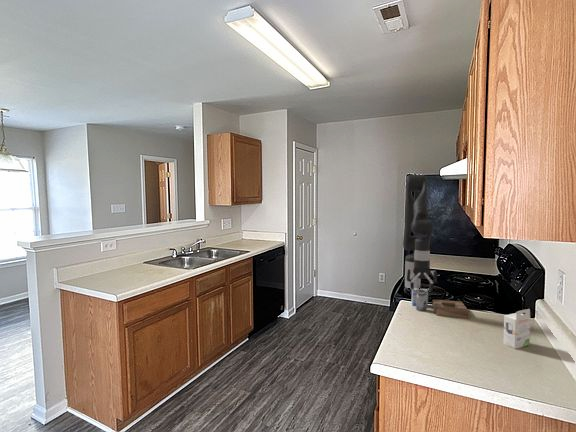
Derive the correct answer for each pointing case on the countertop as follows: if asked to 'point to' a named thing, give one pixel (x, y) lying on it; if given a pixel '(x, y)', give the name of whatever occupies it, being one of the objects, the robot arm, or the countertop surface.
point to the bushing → (421, 299)
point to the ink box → (517, 329)
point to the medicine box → (415, 297)
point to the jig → (450, 308)
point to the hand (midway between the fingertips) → (421, 289)
